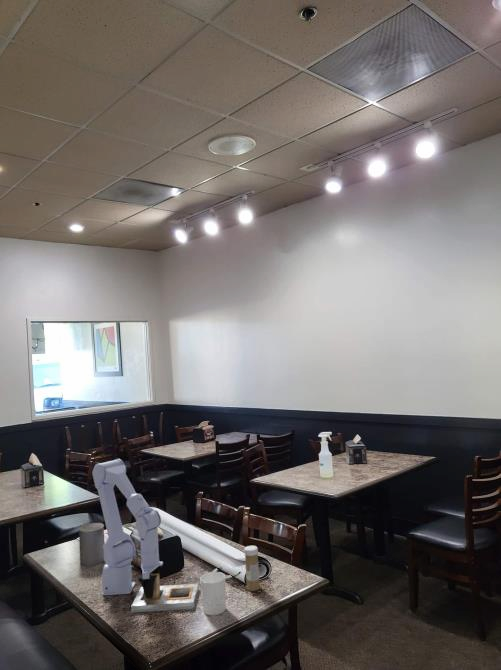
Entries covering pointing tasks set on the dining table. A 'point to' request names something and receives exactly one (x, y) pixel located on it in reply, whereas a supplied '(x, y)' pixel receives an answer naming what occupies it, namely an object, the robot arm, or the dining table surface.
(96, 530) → the pillar candle
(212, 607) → the white cup
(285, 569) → the dining table surface
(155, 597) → the peg
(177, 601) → the socket board
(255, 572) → the sprinkles bottle
